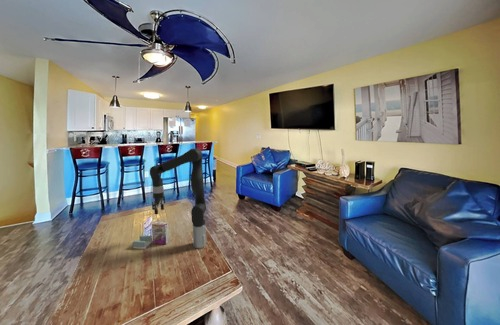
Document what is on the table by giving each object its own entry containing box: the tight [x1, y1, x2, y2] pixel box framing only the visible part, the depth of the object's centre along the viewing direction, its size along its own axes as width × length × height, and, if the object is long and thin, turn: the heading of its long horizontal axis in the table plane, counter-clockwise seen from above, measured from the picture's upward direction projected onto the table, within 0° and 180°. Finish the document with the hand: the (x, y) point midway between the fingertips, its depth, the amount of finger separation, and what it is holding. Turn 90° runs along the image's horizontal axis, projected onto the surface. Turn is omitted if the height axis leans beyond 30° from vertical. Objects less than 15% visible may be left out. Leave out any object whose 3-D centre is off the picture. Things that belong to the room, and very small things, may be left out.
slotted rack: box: [132, 234, 153, 250], centre depth 145 cm, size 9×9×5 cm
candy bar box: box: [151, 221, 170, 246], centre depth 148 cm, size 11×5×16 cm, turn 84°
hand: (159, 211), depth 145 cm, fingers open, 8 cm apart
